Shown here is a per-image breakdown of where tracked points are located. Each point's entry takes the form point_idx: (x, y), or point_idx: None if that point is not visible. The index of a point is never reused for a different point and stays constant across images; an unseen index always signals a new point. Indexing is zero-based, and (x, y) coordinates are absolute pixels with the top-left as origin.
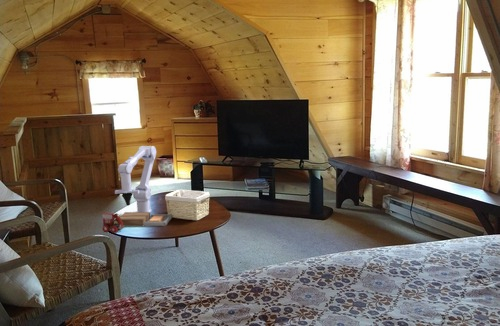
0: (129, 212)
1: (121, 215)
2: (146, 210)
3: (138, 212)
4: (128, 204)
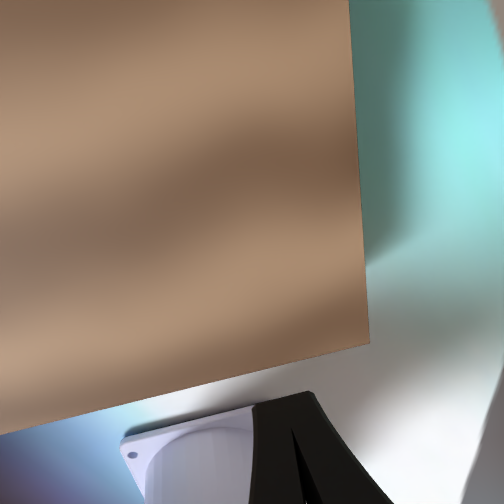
0: (293, 353)
1: (356, 193)
2: (148, 500)
3: (140, 389)
4: (257, 423)
